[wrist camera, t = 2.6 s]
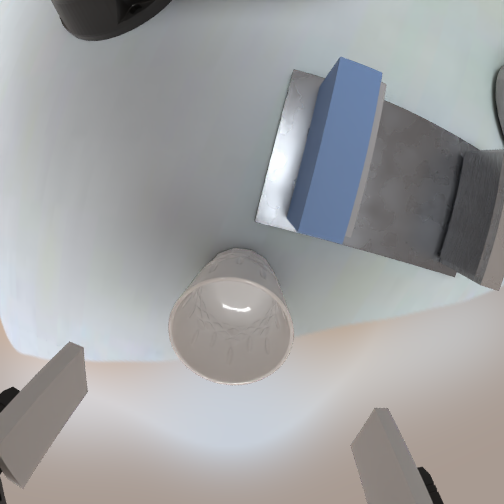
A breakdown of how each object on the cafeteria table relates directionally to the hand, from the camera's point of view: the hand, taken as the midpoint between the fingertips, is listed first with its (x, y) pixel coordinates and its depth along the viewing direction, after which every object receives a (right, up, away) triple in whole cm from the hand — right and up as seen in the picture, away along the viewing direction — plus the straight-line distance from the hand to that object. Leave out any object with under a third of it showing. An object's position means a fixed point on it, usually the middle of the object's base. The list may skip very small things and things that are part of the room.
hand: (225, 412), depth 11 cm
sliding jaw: (+7, +15, +12) cm, 21 cm away
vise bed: (+14, +14, +14) cm, 24 cm away
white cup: (0, +4, +17) cm, 17 cm away
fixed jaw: (+23, +11, +13) cm, 28 cm away
